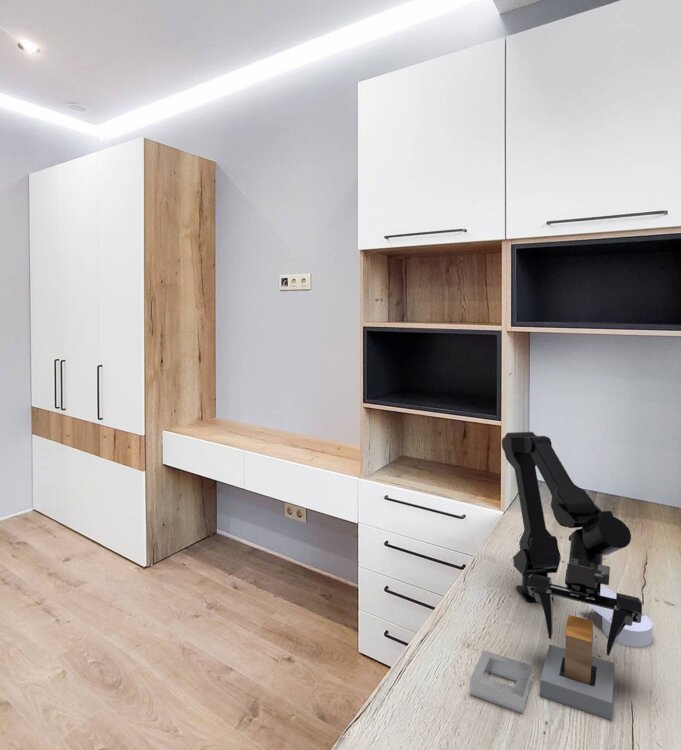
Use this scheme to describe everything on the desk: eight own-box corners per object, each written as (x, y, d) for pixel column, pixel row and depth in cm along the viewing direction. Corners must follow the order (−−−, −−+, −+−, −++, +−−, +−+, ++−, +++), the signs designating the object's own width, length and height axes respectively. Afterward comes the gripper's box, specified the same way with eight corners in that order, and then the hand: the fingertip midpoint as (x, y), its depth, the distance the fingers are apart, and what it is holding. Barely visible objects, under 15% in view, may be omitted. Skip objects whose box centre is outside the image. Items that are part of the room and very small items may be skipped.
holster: (483, 664, 94) (483, 649, 94) (531, 680, 90) (532, 665, 90) (470, 694, 87) (470, 678, 87) (522, 713, 82) (522, 696, 82)
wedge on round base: (579, 613, 111) (624, 650, 98) (580, 584, 110) (625, 618, 97) (615, 607, 112) (662, 643, 100) (616, 579, 112) (664, 612, 99)
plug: (566, 676, 91) (568, 614, 90) (591, 684, 89) (593, 620, 88) (564, 690, 88) (565, 626, 86) (589, 698, 85) (591, 633, 84)
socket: (549, 658, 96) (549, 644, 95) (613, 678, 90) (614, 663, 90) (539, 695, 86) (540, 679, 86) (611, 720, 81) (612, 703, 80)
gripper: (529, 533, 95) (516, 617, 86) (644, 554, 85) (642, 652, 77) (535, 555, 102) (524, 635, 94) (641, 577, 93) (639, 668, 84)
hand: (578, 646), depth 87 cm, fingers open, 9 cm apart
